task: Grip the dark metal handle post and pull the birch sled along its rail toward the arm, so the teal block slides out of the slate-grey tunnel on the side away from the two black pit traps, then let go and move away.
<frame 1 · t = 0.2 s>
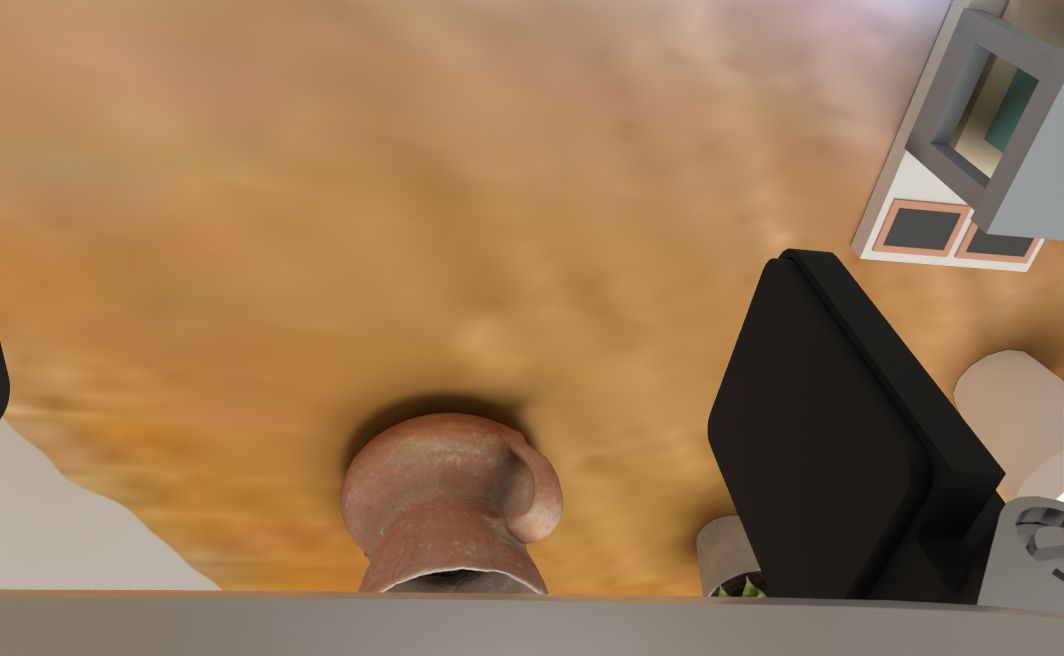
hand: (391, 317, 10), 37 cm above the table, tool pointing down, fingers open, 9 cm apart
house plant: (741, 531, 71), on the table
ceramic jug: (450, 461, 63), on the table
tunnel board: (1015, 83, 50), on the table
foam cup: (993, 381, 64), on the table
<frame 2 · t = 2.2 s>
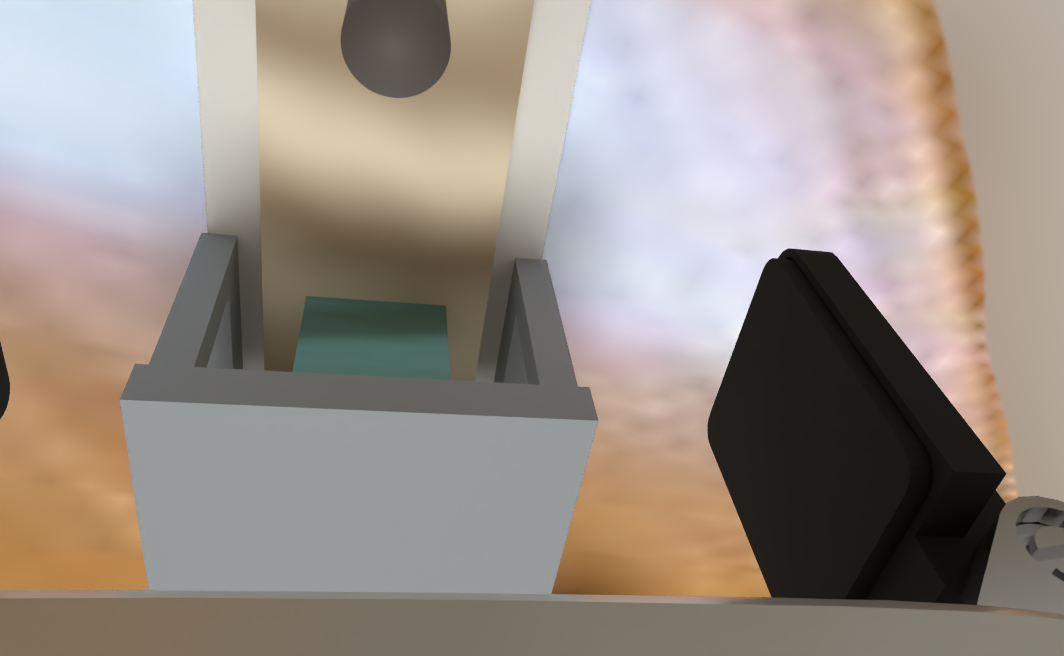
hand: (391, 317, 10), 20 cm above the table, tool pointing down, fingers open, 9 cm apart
sled: (379, 275, 27), point 6 cm above the table, slide at 0.0 cm
tunnel board: (375, 313, 34), on the table
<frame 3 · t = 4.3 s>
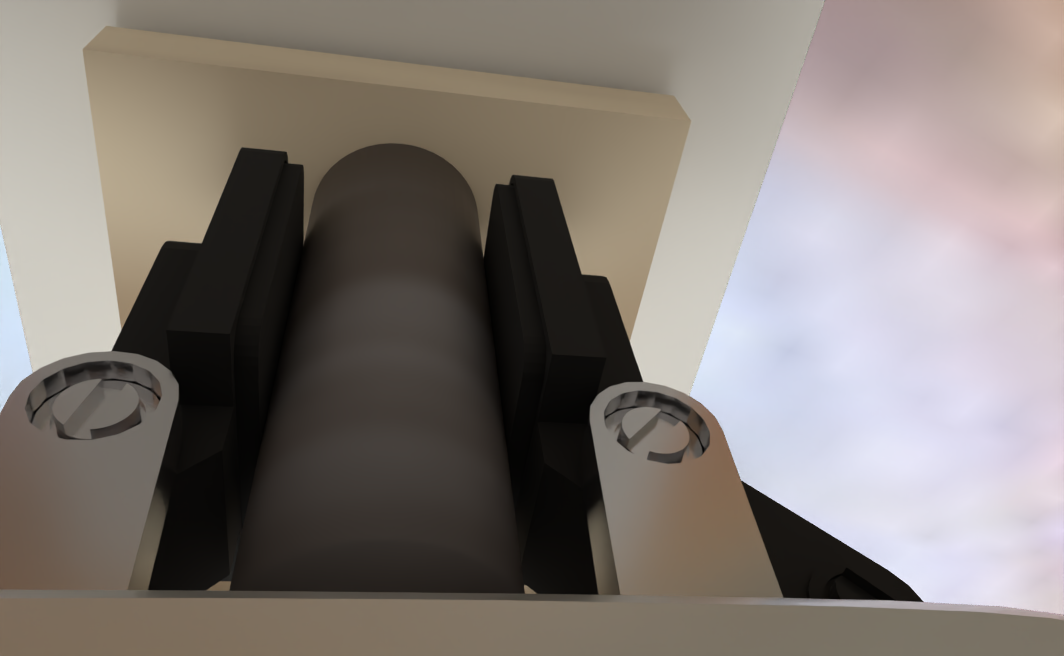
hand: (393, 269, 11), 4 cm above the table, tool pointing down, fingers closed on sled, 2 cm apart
tunnel board: (361, 635, 23), on the table
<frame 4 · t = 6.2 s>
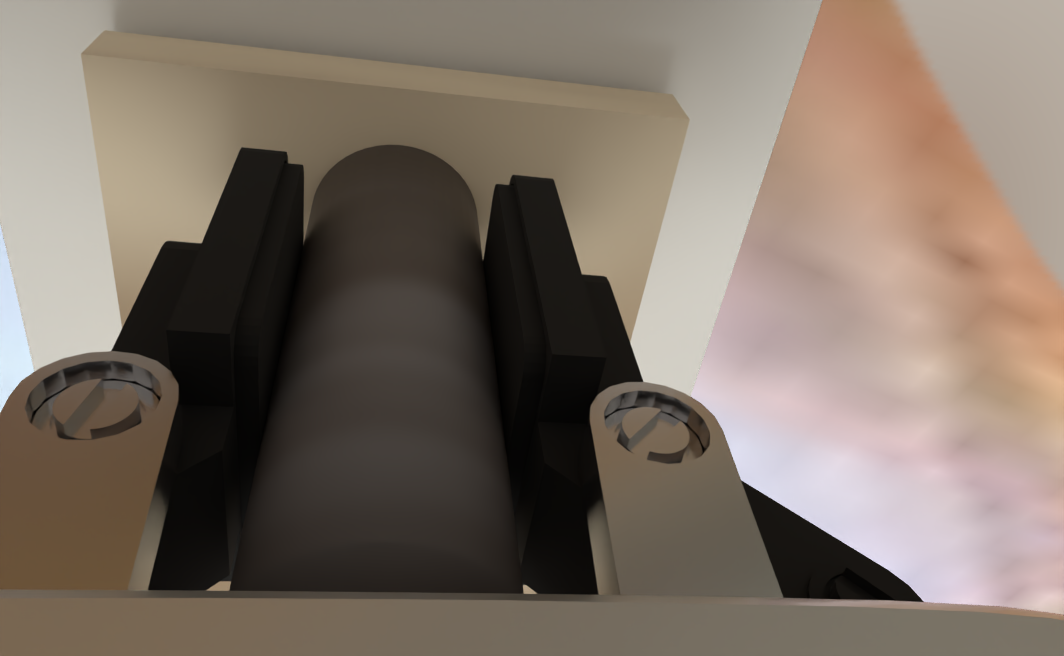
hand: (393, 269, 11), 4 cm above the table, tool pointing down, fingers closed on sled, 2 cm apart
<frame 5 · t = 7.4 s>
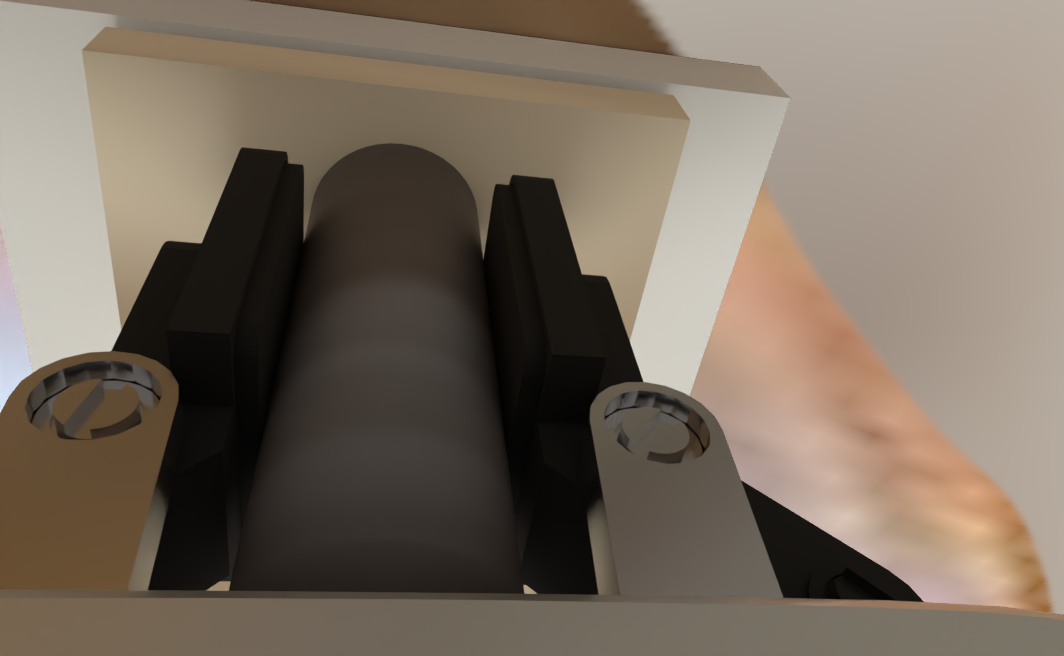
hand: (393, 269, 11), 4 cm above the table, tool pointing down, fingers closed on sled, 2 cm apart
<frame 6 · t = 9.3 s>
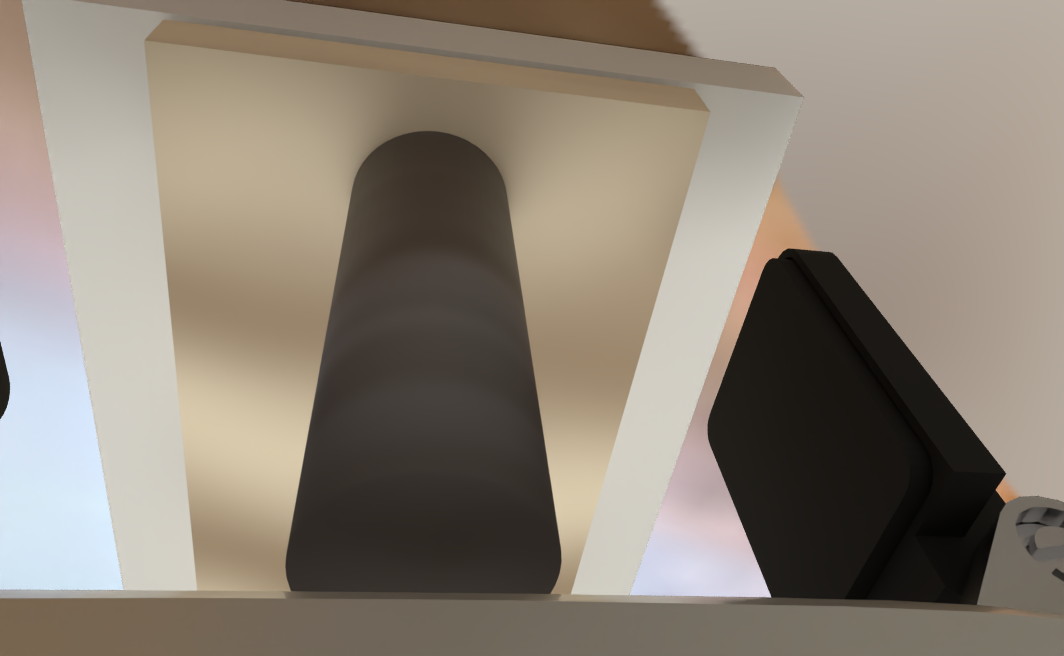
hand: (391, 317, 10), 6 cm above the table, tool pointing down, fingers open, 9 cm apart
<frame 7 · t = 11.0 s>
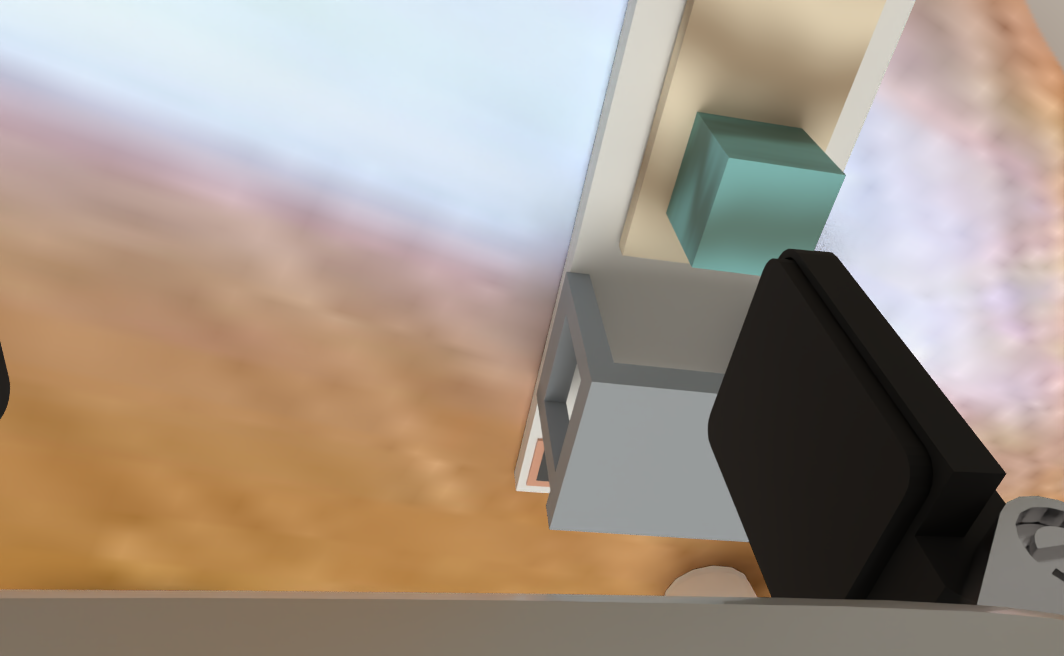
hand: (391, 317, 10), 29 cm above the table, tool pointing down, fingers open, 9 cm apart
sled: (797, 75, 33), point 6 cm above the table, slide at -11.0 cm
tunnel board: (656, 331, 47), on the table
foam cup: (706, 592, 61), on the table
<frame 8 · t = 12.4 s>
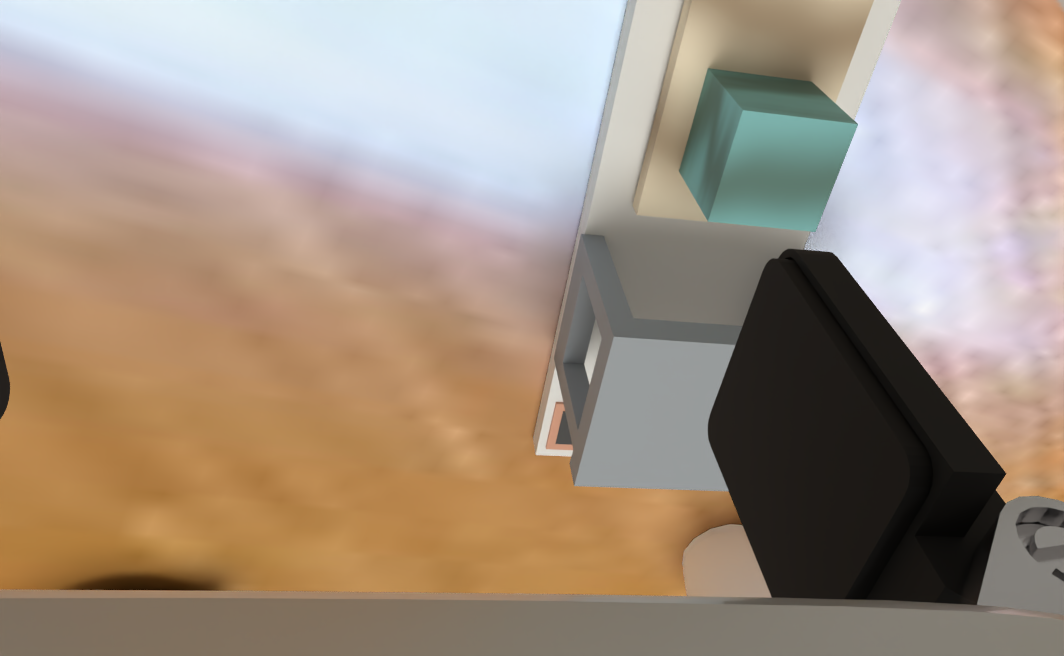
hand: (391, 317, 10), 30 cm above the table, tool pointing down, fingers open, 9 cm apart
sled: (808, 26, 34), point 6 cm above the table, slide at -11.0 cm
tunnel board: (669, 292, 48), on the table
foam cup: (723, 551, 62), on the table
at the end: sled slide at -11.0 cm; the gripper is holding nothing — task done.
